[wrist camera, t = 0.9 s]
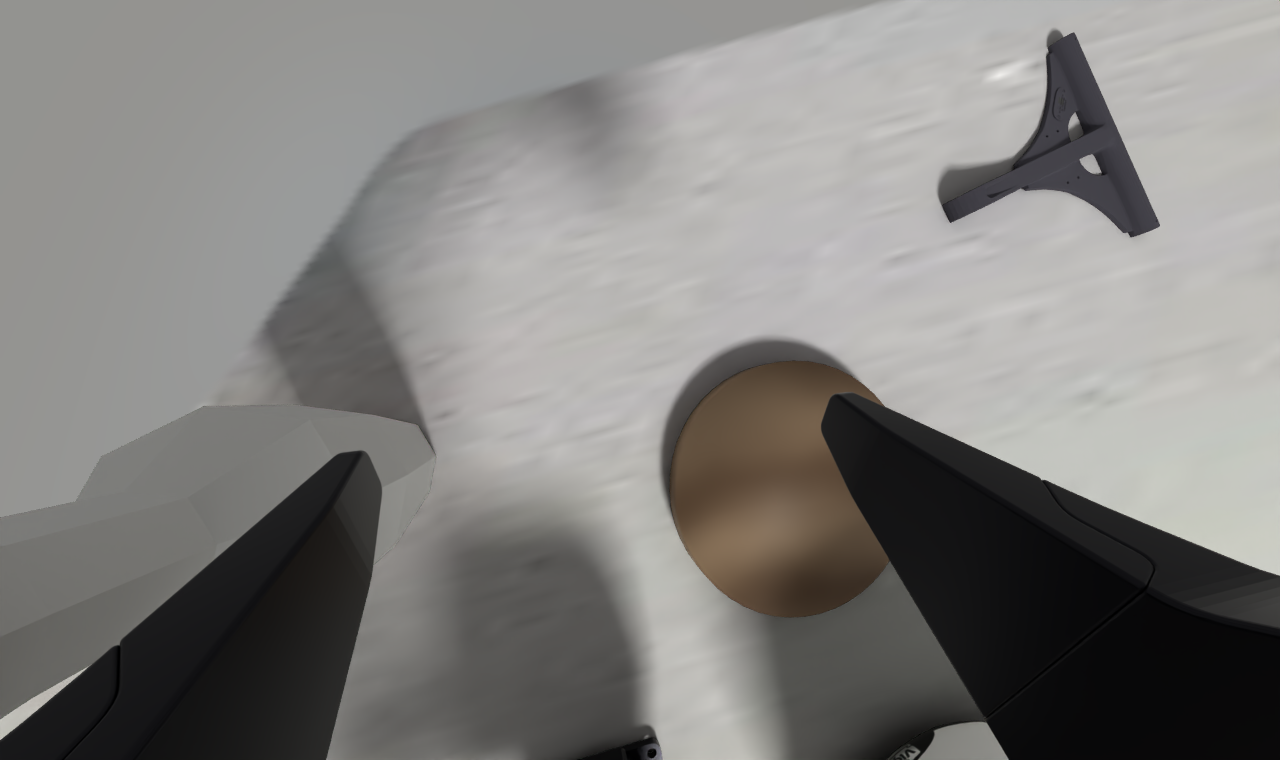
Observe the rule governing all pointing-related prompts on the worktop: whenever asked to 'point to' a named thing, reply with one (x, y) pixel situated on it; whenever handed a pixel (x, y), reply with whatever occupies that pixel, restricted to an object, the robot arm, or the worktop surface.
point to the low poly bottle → (173, 525)
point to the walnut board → (772, 493)
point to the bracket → (1072, 151)
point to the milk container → (953, 744)
